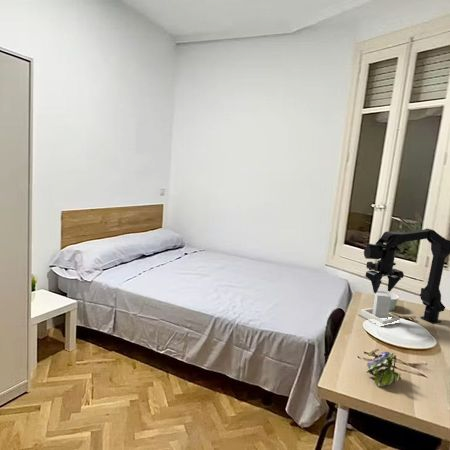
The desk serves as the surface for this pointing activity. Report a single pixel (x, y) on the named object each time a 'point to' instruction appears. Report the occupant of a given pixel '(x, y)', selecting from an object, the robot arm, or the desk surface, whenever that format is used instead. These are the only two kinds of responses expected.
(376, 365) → the passion flower
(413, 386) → the desk surface
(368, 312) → the white shallow square tray
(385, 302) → the skincare box
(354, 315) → the desk surface
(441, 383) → the desk surface
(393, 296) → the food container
